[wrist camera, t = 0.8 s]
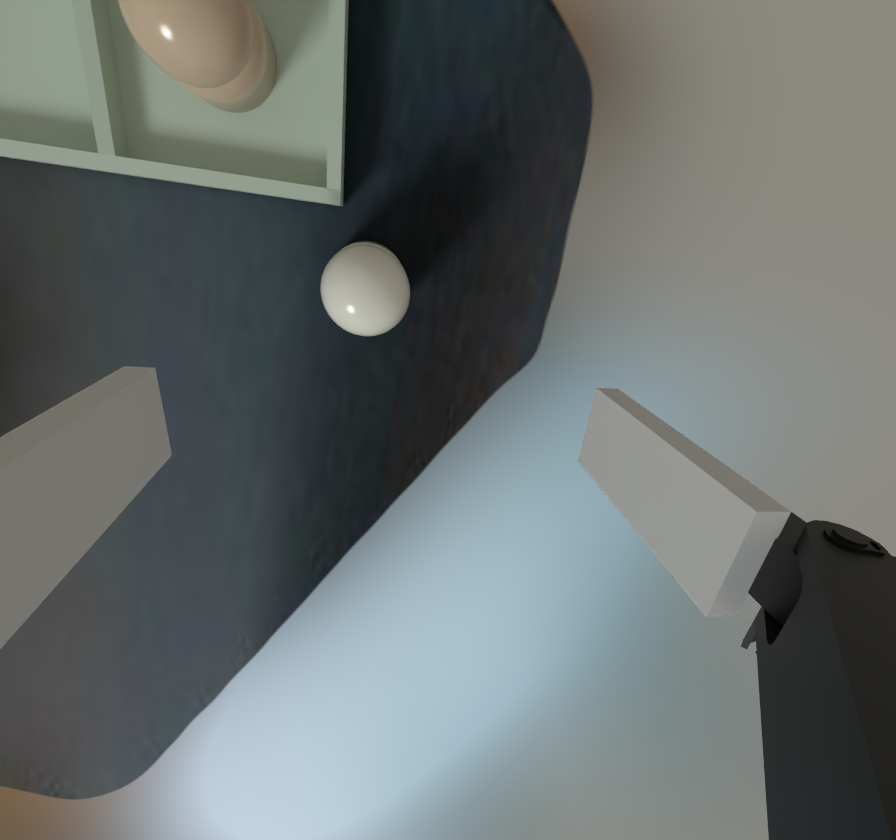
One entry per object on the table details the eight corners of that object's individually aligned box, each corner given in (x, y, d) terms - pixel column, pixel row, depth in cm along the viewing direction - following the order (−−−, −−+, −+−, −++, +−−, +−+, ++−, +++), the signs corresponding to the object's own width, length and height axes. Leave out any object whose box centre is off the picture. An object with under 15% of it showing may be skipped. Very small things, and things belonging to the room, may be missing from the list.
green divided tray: (-122, 138, 23) (-172, 130, 21) (-249, -230, 18) (-336, -292, 16) (343, 206, 28) (340, 205, 26) (350, -70, 22) (347, -101, 20)
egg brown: (179, 103, 24) (99, 55, 17) (166, -21, 22) (69, -133, 15) (278, 120, 25) (240, 82, 18) (275, 3, 23) (231, -90, 16)
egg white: (328, 314, 30) (314, 341, 24) (329, 235, 28) (315, 240, 22) (401, 321, 31) (408, 349, 25) (408, 246, 29) (417, 253, 22)
